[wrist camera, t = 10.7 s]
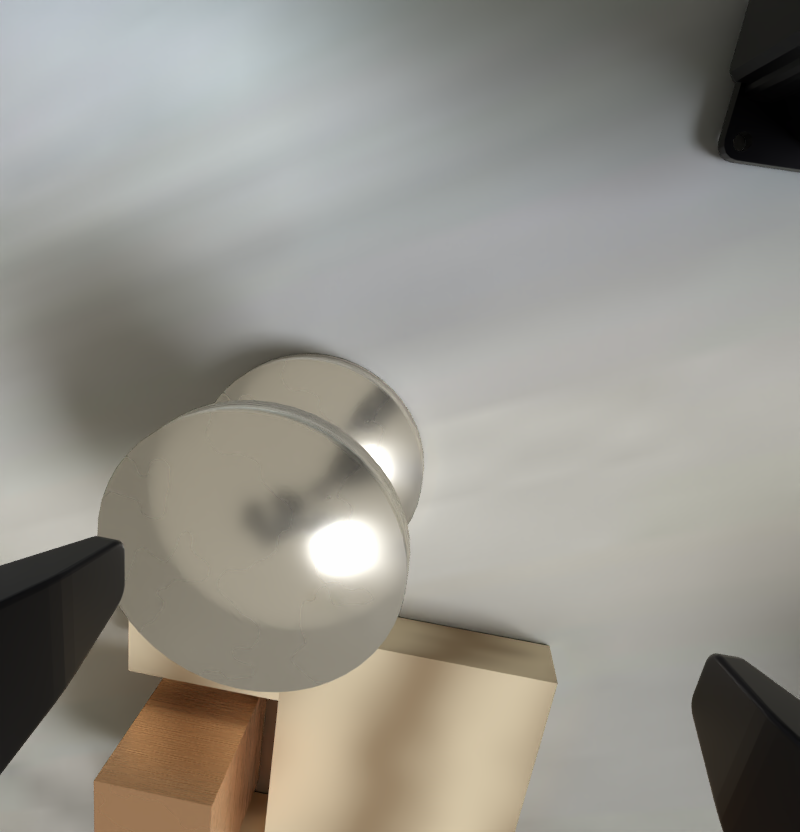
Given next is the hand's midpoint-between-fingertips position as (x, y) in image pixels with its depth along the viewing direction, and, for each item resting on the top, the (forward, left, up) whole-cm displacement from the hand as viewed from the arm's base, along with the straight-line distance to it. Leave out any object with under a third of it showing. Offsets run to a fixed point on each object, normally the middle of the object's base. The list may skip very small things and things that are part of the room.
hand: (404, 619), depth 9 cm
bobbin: (+4, +3, -12) cm, 13 cm away
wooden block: (+7, +16, -12) cm, 21 cm away
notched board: (+2, +16, -12) cm, 20 cm away
